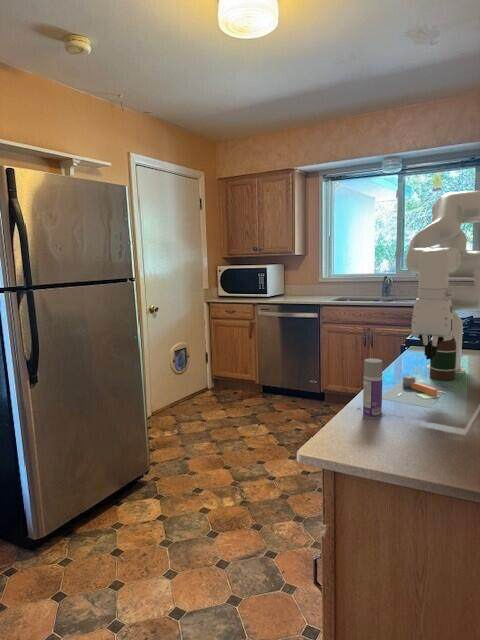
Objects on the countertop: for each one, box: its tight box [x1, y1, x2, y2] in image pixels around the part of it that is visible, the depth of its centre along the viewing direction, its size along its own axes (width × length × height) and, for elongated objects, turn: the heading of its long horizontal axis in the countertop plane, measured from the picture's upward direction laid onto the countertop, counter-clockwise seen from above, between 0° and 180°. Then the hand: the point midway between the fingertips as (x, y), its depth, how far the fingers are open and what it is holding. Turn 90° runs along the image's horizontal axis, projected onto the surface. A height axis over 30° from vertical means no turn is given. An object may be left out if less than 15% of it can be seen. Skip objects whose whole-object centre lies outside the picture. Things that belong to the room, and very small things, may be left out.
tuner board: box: [382, 379, 450, 408], centre depth 128 cm, size 22×14×1 cm, turn 143°
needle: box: [402, 375, 437, 396], centre depth 129 cm, size 12×4×3 cm, turn 24°
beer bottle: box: [429, 335, 456, 382], centre depth 140 cm, size 8×8×24 cm
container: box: [362, 357, 383, 420], centre depth 113 cm, size 5×5×15 cm
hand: (430, 358), depth 122 cm, fingers closed
